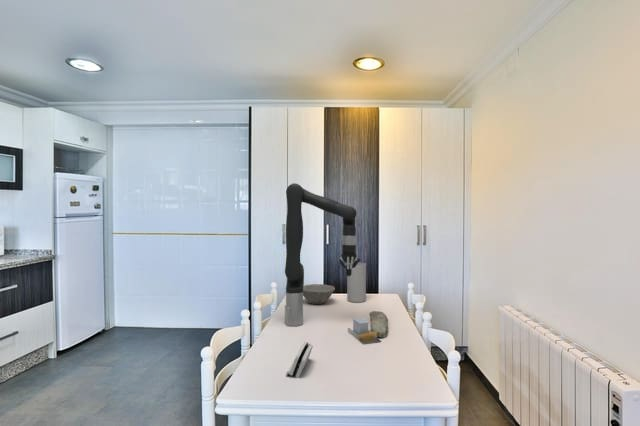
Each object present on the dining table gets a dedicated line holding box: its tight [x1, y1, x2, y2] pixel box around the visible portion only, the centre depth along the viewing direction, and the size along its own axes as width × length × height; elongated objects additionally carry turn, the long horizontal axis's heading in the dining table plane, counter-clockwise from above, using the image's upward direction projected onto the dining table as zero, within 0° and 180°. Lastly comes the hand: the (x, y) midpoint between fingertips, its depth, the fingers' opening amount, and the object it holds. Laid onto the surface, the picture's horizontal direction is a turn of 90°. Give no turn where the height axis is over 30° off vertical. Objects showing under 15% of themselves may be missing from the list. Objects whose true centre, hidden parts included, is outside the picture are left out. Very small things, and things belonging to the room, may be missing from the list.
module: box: [352, 317, 369, 334], centre depth 169 cm, size 4×8×7 cm, turn 19°
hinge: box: [285, 341, 314, 379], centre depth 133 cm, size 17×5×10 cm, turn 169°
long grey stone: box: [369, 310, 389, 338], centre depth 181 cm, size 35×5×10 cm
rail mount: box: [347, 327, 382, 345], centre depth 166 cm, size 9×18×3 cm, turn 19°
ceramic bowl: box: [303, 283, 335, 305], centre depth 227 cm, size 22×23×10 cm
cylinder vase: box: [346, 261, 367, 304], centre depth 233 cm, size 12×12×25 cm
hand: (348, 275), depth 185 cm, fingers closed
